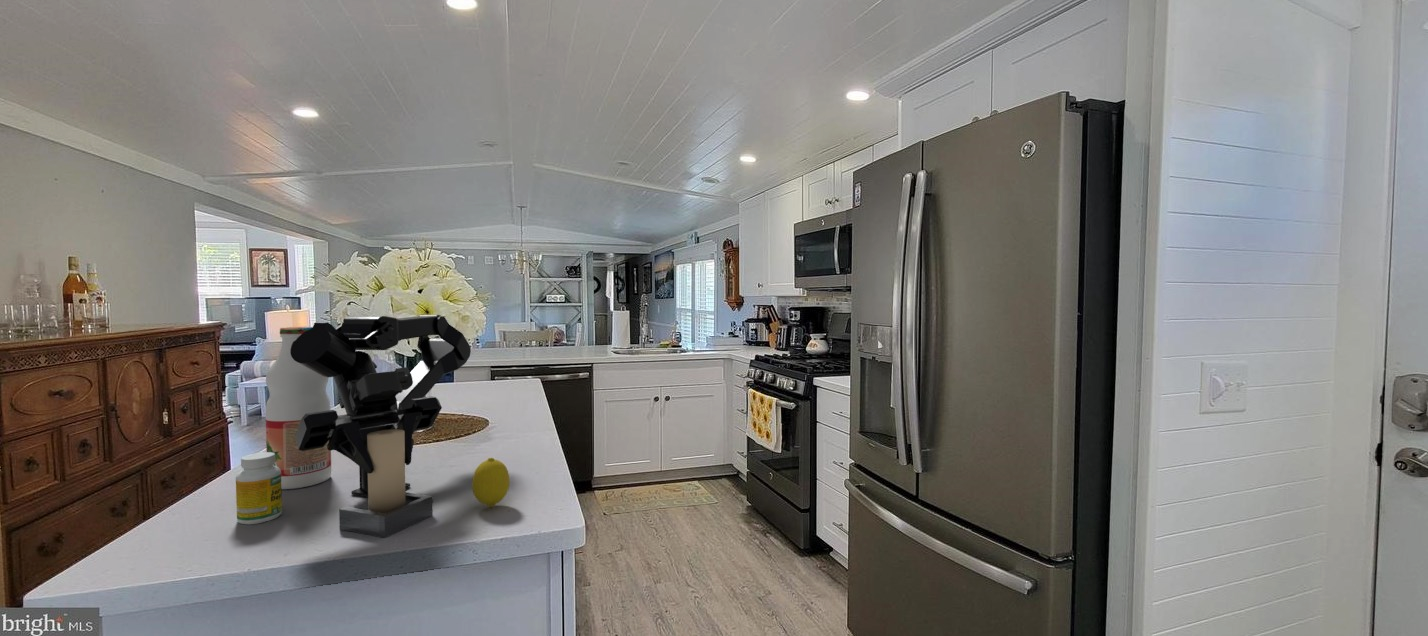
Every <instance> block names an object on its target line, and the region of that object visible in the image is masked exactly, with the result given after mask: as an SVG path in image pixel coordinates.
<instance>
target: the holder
mask: <svg viewBox="0 0 1428 636" xmlns="http://www.w3.org/2000/svg"><path fill="white" fill-rule="evenodd" d="M405 503H406V505H403V506H401V507H398V508H396V509H394V510H391V511H389V512H386V513H382V512H376V511H370V510H368V509H362V508H357V507H350V506H344V507H341V508H339V510H338V511H339V513H338V516H339V517H338V519H339V520H338V521H339V523H338V524H339V530H340V531H344V532H345V531H346V532H351V533H357V534H363V535H367V536H373V537H374V536H375V537H378V538H384V539H385V538H387V537H390V536H392V535H395V534H397V533H398V532H400V531H402V530H404V529H406V528H409V527H411V526H413V525H415V524H417V523H420V522H421V521H424V520H426V519H428V518H430V517H432V516H433V515H434V514H433V510H434V509H433V496H432V495H428V494H420V493H412V492H406V491H405Z"/></svg>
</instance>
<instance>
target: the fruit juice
mask: <svg viewBox="0 0 1428 636" xmlns="http://www.w3.org/2000/svg"><path fill="white" fill-rule="evenodd" d="M312 328H313V326H286V327H285V326H284V327H280V328H279V335H280V336H279V337H280V338H281V346H280V350H279V352H278V355H277V358H276V359H275V360H274V362H273V364H272V365H271V366H270V367H269V368H268V370H267V372H266V374H265V383H266V384H265V385H266V387H267V390H268V392H269V393H268V394H269V397H268V399H267V402H266V404H265V414H264V415H265V416H264V417H265V437H266V438H265V439H266V442H265V443H266V446H265V447H266V452H272V453H275V463H274V464H273V465H274V466H277V467H279V468H280V470H281V490H293V489H295V490H296V489H301V488H306V487H311V486H315V485H318V484H321V483H324V482H325V481H328V480H329V479H330V478H331V475H332V450H328V449H327V445H328V442H329V440H328V442H327V444H326V445H325V446H324V447H323V448H317V449H311V450H306V451H301V450H299V449H298V446H297V443H296V433H297V430H298V427H299V424H300V422H301V419H302V417H303V416H304V415H305V414H306V413H314V412H321V411H328V410H331V402H330V397H329V396H328V394H327V386H328V382H329V378H330V377H324V376H322V375H320V374H318V373H316V372H315V371H313V370H311V369H309V368H307V367H305V366H303V365H302V364H300V363H298V362H296V361H295V360H294V359H293V358H292V357H291V354H290V349H291V345H292V343H293V342H294V341H295V340H296V339H297V338H298V337H299V336H300V335H301V334H303V333H304V332H306V331H308V330H310V329H312ZM328 438H329V437H328Z"/></svg>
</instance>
